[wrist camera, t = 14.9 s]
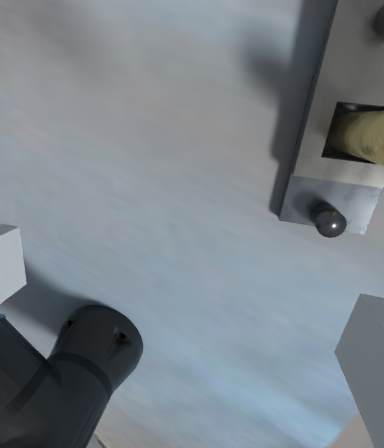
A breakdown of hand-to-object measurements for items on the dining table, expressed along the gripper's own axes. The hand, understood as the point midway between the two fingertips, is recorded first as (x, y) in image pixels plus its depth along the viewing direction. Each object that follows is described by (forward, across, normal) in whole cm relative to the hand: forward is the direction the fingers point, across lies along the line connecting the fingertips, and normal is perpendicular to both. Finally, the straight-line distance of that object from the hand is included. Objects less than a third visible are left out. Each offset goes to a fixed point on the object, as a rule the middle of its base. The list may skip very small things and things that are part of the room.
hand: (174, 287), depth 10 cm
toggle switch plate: (+25, -13, -7) cm, 29 cm away
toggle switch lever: (+25, -13, -7) cm, 29 cm away
